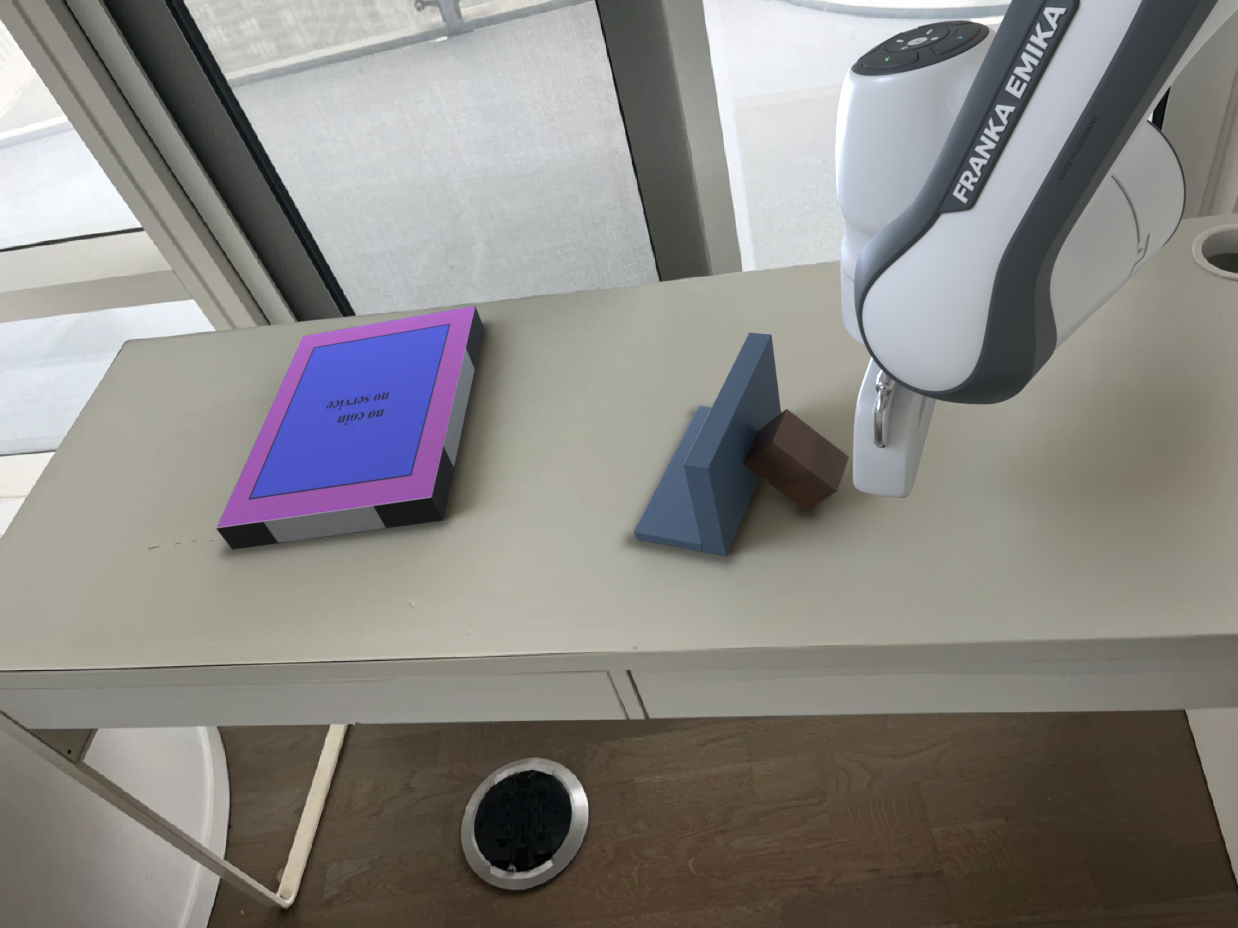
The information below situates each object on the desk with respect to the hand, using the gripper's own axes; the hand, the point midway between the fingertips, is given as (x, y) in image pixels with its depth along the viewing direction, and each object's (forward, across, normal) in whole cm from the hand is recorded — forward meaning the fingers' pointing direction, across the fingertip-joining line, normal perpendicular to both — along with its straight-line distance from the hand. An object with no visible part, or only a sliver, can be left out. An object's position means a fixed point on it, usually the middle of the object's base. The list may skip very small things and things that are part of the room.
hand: (908, 448), depth 68 cm
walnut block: (+3, 0, +9) cm, 9 cm away
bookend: (+7, 0, +17) cm, 18 cm away
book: (+8, 0, +54) cm, 55 cm away
